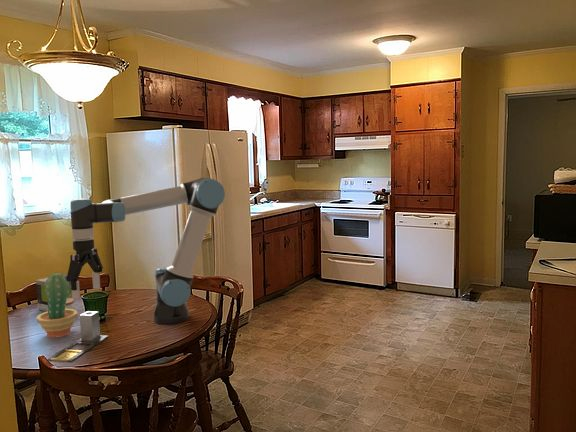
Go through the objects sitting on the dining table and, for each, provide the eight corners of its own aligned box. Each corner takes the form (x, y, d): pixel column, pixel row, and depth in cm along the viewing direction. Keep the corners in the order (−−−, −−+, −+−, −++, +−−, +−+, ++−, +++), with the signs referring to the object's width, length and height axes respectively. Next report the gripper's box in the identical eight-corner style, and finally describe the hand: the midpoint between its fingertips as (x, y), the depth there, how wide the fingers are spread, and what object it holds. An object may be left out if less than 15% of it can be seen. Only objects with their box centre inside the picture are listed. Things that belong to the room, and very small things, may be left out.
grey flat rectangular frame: (108, 336, 194) (108, 335, 194) (71, 361, 171) (71, 360, 171) (86, 335, 196) (86, 334, 196) (47, 360, 173) (47, 359, 173)
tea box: (75, 308, 232) (73, 278, 230) (55, 314, 224) (53, 283, 222) (57, 304, 240) (54, 275, 238) (37, 310, 232) (34, 279, 230)
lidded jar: (65, 322, 213) (63, 301, 212) (44, 321, 215) (42, 300, 214) (80, 314, 223) (79, 294, 222) (59, 313, 225) (58, 293, 224)
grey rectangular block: (100, 338, 193) (98, 311, 191) (93, 343, 188) (91, 315, 187) (89, 337, 194) (86, 310, 192) (81, 342, 189) (79, 314, 187)
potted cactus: (82, 334, 197) (77, 274, 194) (40, 343, 189) (34, 280, 186) (75, 324, 210) (71, 267, 207) (35, 331, 202) (30, 273, 199)
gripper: (93, 233, 199) (96, 284, 201) (53, 244, 174) (57, 302, 177) (109, 234, 197) (112, 285, 200) (72, 245, 173) (76, 303, 176)
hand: (86, 293), depth 188 cm, fingers open, 13 cm apart
